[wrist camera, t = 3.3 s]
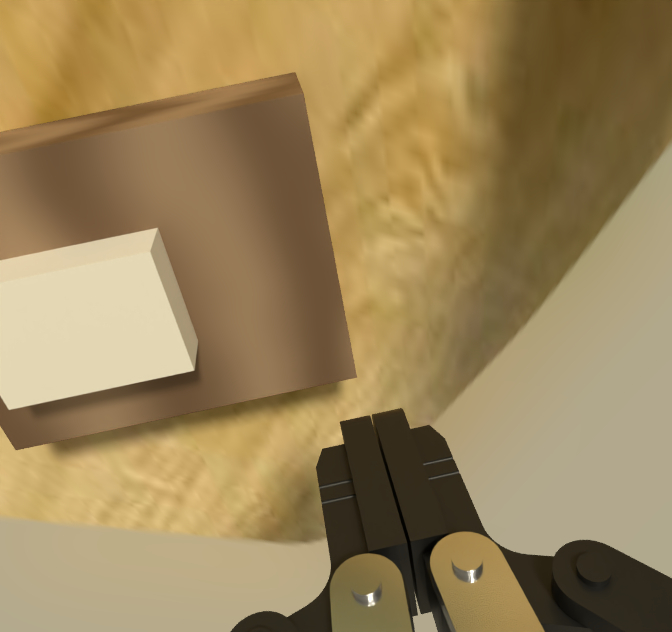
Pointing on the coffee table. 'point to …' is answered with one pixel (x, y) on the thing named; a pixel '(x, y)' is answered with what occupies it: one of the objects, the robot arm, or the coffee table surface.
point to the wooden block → (190, 243)
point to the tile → (91, 319)
